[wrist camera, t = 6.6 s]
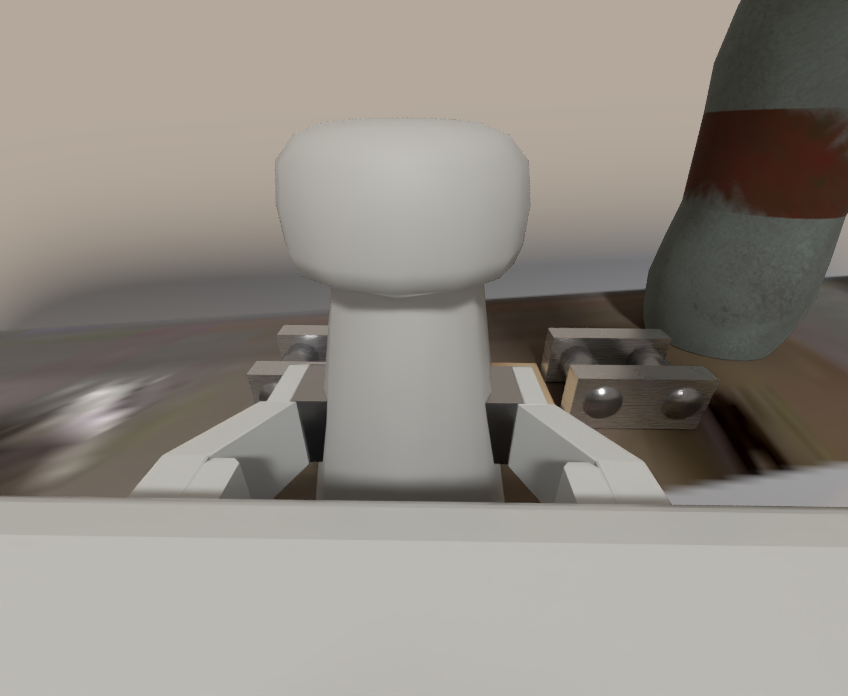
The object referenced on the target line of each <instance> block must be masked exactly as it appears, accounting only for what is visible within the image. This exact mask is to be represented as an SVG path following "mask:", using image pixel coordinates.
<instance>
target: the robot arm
mask: <svg viewBox="0 0 848 696" xmlns="http://www.w3.org/2000/svg"><path fill="white" fill-rule="evenodd" d="M325 366H326V364H291V365H289V366H288V367H287V369H286V371H285V372H284V374H283V375H282V377H281V379H280V380H279V382H278V384H277V385H276V387H275V388H274V390H273V392H272V393H271V395H270V396H269V398H268V400H267V401H260V402H258V403H256V404H255V405H253V406H251V407H249V408H247V409H246V410H244V411H242V412H240V413H238V414H236V415H235V416H233V417H231V418H229V419H227V420H226V421H224V422H222V423H220V424H218V425H217V426H215V427H213V428H211V429H209V430H207V431H206V432H204V433H202V434H200V435H198V436H197V437H195V438H193V439H191V440H189V441H188V442H186V443H184V444H182V445H180V446H179V447H177V448H175V449H173V450H171V451H169V452H168V453H166V454H164V455H162V456H161V458H160V459H159V460H158V461H157V462H156V464H155V465H154V466H153V467H152V468H151V470H150V471H149V472H148V473H147V474H146V476H145V477H144V478H143V479H142V480H141V482H140V483H139V484H138V485H137V486H136V487H135V489H134V490H133V491H132V492H131V493H130V495H129V496H128V497H61V496H0V696H848V507H792V506H720V505H718V506H717V505H716V506H715V505H672V504H671V503H670V501H669V499H668V498H667V496H666V495H665V493H664V492H663V490H662V489H661V487H660V486H659V484H658V482H657V481H656V479H655V478H654V476H653V475H652V473H651V472H650V470H649V469H648V467H647V466H646V464H645V462H643V461H642V460H640V459H639V458H637V457H636V456H634V455H633V454H631V453H629V452H628V451H626V450H625V449H623V448H622V447H620V446H619V445H617V444H615V443H614V442H612V441H611V440H609V439H608V438H606V437H604V436H603V435H601V434H600V433H598V432H597V431H595V430H594V429H592V428H590V427H589V426H587V425H586V424H584V423H583V422H581V421H580V420H578V419H576V418H575V417H573V416H572V415H570V414H569V413H567V412H566V411H564V410H562V409H561V408H559V407H558V406H556V405H555V404H548V402H547V400H546V398H545V395H544V393H543V391H542V389H541V386H540V384H539V382H538V380H537V377H536V375H535V373H534V371H533V368H532V367H531V366H492V367H491V374H490V383H491V393H490V395H489V397H488V398H487V400H486V402H485V408H486V415H487V422H488V429H489V435H490V442H491V449H492V455H493V462H494V464H509V465H508V466H509V467H510V468H511V470H512V471H513V472H514V473H515V474H516V475H517V476H518V477H519V479H520V480H521V481H522V482H523V483H524V484H525V485H526V486H527V488H528V489H529V490H530V491H531V492H532V493H533V494H534V495H535V496H536V498H537V499H538V500H539V501H540V502H541V503H499V502H429V501H348V500H272V499H273V498H274V497H275V496H276V495H277V494H278V493H279V492H280V491H281V490H282V489H284V488H285V487H286V486H287V485H288V484H289V483H290V482H291V481H292V480H293V479H294V478H295V477H296V476H297V475H298V474H299V473H300V472H301V471H302V470H303V469H304V468H305V467H306V466H307V465H308V464H309V462H323V455H324V445H325V434H326V422H327V396H326V393H325V390H324V380H325Z"/></svg>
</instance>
